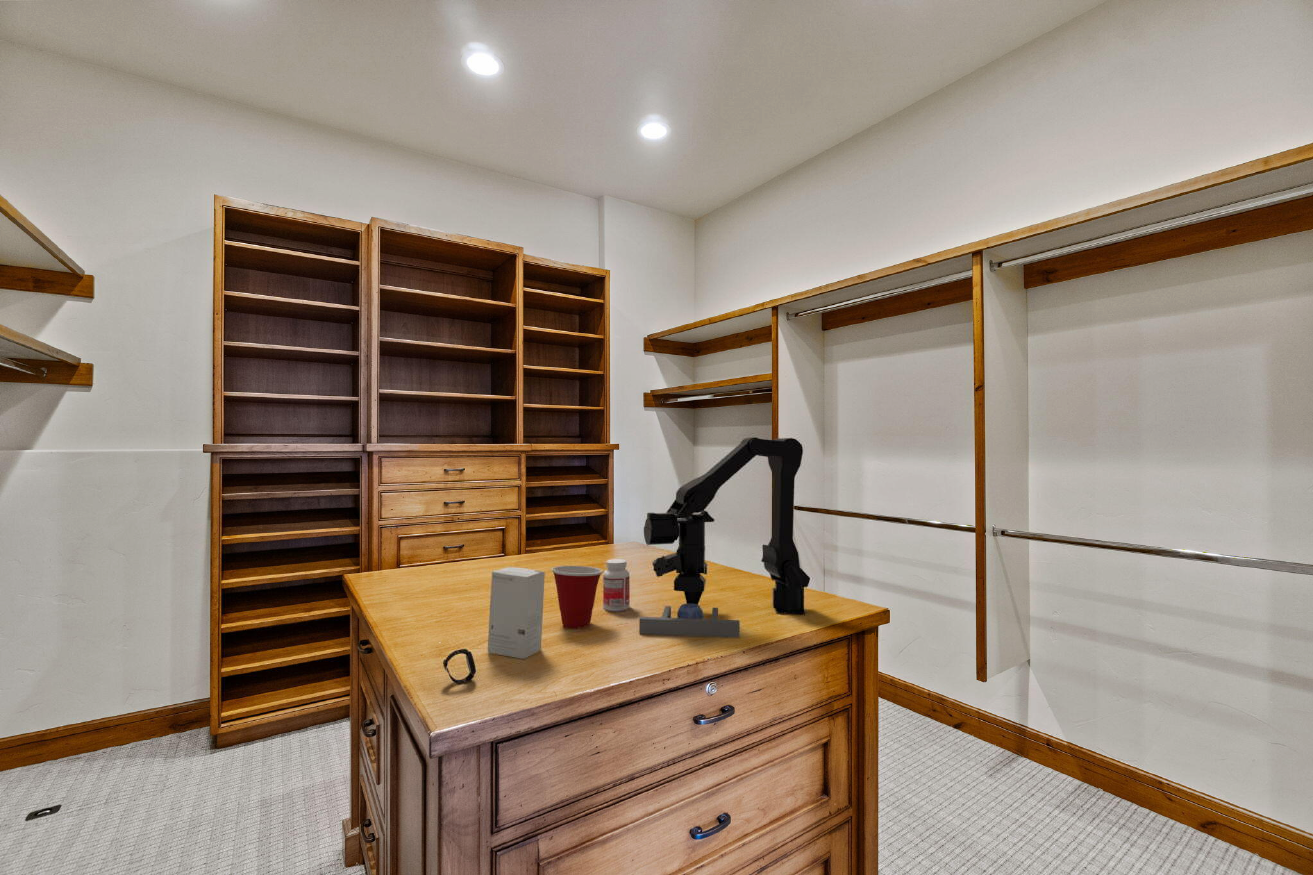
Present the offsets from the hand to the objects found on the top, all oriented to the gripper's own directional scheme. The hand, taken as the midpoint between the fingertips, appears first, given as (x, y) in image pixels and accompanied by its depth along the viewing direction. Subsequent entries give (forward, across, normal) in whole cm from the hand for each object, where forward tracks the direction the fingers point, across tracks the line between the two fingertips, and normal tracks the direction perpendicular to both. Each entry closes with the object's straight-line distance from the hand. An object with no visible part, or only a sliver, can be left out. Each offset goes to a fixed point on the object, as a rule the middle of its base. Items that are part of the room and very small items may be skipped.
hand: (691, 614), depth 124 cm
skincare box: (+1, +24, -31) cm, 39 cm away
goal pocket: (+1, +6, 0) cm, 6 cm away
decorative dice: (+1, +4, 0) cm, 4 cm away
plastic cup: (+1, +7, -24) cm, 25 cm away
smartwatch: (+1, +38, -35) cm, 51 cm away
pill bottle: (+1, -6, -18) cm, 19 cm away
